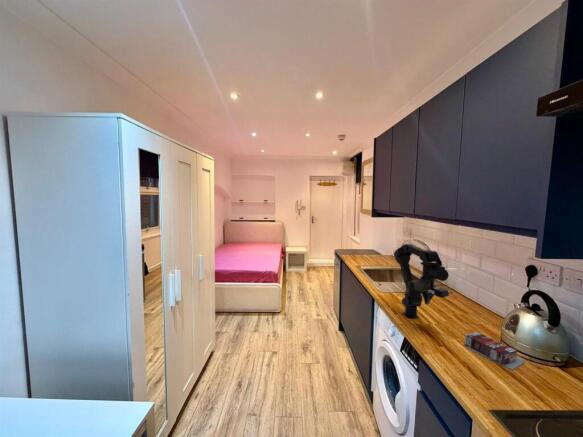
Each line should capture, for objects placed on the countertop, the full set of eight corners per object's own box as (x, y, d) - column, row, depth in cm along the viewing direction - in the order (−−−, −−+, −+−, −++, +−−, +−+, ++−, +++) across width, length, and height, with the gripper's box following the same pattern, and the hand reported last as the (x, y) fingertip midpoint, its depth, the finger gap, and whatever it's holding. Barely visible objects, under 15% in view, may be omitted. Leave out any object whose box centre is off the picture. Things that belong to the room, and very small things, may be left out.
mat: (465, 347, 114) (465, 347, 114) (480, 341, 120) (480, 340, 120) (512, 370, 99) (512, 369, 99) (526, 362, 105) (526, 361, 105)
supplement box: (477, 331, 119) (517, 350, 104) (476, 340, 119) (516, 361, 105) (464, 334, 116) (504, 354, 101) (463, 344, 116) (503, 365, 102)
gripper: (402, 272, 136) (401, 300, 137) (436, 282, 119) (434, 314, 120) (416, 269, 141) (414, 297, 142) (450, 279, 124) (448, 310, 125)
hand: (426, 304), depth 132 cm, fingers closed
